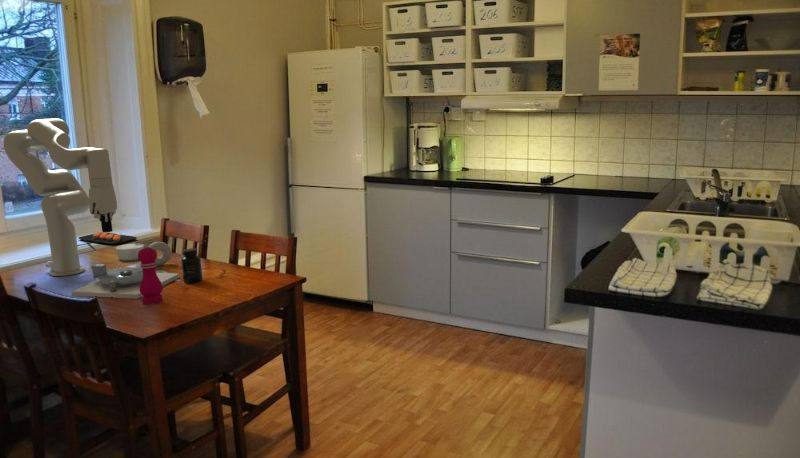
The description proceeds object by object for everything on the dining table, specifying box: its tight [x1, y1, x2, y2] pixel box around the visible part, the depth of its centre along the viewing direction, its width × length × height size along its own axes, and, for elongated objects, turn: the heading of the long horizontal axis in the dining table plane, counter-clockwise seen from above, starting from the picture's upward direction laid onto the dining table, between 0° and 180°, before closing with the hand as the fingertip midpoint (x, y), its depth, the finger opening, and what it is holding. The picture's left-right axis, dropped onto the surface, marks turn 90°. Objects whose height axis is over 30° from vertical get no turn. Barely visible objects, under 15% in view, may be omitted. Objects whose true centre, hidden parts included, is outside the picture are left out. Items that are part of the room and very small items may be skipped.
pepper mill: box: [137, 243, 164, 305], centre depth 218 cm, size 7×7×20 cm
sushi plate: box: [77, 231, 137, 251], centre depth 311 cm, size 29×30×4 cm
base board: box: [71, 272, 180, 300], centre depth 239 cm, size 26×26×3 cm
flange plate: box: [91, 263, 143, 285], centre depth 238 cm, size 22×18×4 cm
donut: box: [149, 241, 172, 267], centre depth 266 cm, size 10×4×10 cm, turn 126°
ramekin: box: [115, 243, 144, 262], centre depth 280 cm, size 11×11×5 cm
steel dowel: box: [109, 281, 117, 292], centre depth 228 cm, size 2×2×4 cm
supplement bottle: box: [180, 248, 203, 285], centre depth 242 cm, size 7×7×12 cm
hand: (107, 231), depth 244 cm, fingers closed
